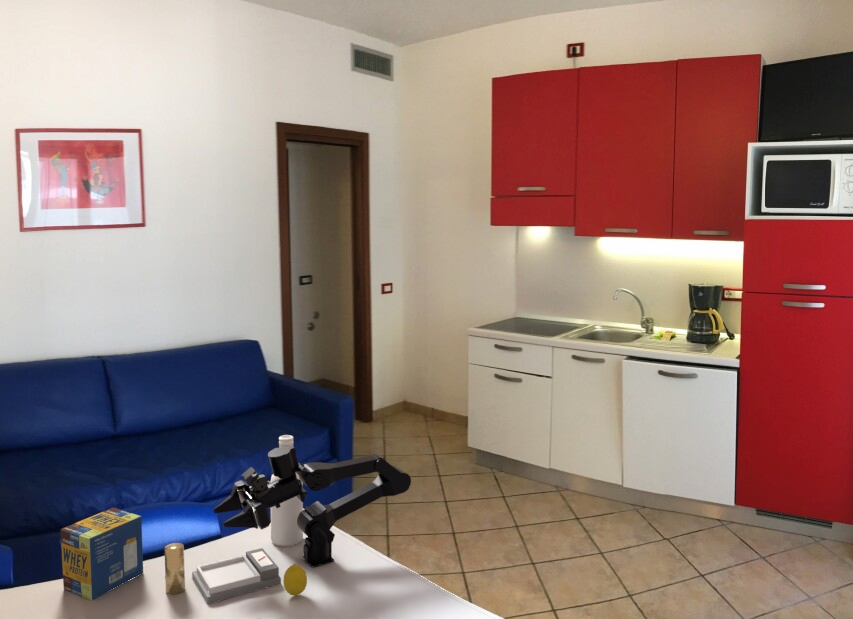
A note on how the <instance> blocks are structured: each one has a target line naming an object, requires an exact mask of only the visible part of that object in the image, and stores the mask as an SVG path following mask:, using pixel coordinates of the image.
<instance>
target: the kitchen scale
mask: <svg viewBox="0 0 853 619" xmlns="http://www.w3.org/2000/svg"><path fill="white" fill-rule="evenodd" d="M279 570H280V569H279V566H278V564H277V563H275V561H274V559H272V558H271V556H270V555H269V554H268V553H267V552H266V550H265V549H264V548H263V547H261V548H257V549H252V550H249V551H246V552H245V554H243V555H240V556H239V555H238V556H234V557H230V558H227V559H221V560H218V561H213V562H210V563H205V564H201V565H196V570H193V571H191V572H192V573H191V576H192V580H193V582H194V581H195V582H194V583H195V584H196V586H198V587H197V589H198V590H199V592H200V593H201V595H202V597H203V599H204V598H205V599H204V601H205V602H206V604H212V603H216V602H219V601H222V600H227V599H230V598H234V597H238V596H242V595H245V594H248V593H253V592H257V591H260V590H264V589H268V588H273V587H276V586H279V585H282V577H281V576H280V573H279V572H280V571H279Z"/></svg>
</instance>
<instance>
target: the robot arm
mask: <svg viewBox="0 0 853 619" xmlns="http://www.w3.org/2000/svg"><path fill="white" fill-rule="evenodd" d="M267 456H268V460H269V463H270V467H271V472H272V475H274V476H276V477H279V478H280V479H279V480H276V481H274V482H272V483H271V482H270V481H271V480H269V479H268V478H267V476H266V475H264V474H258V472H257V471H256V470H255V469H254V468H253V467H252V466H251V467H249V468H248V469H247V470H245V472H243V473H242V474H241V475H240V476H241V477H242V479H244V480H245V481H244V480H242V479H241V480H238V481H236V482H234V483H233V484H234V485H233V486H232V490H231V493H230V495H228V497H226V498H225V499H223V501H221V502H220V503H219V504H218V505H216V506H215V507H214V508H213V509H212V510H213V514H220V513H221V514H222V513H228V512H235V511H241V512H239V513H238V514H235V515H234V516H232V517H230V518H229V519H227V520H225V521H223V523H222V525H223V527H224V528H246V529H247V528H248V529H249V528H250V529H251V528H252V529H257V530H258V529H260V530H265V529H267V528H268V527H269V526H271V515H270V513H269V509H271V507H274V506H275V507H276V508H279V507H280V503H283V502H285V501H287V500H289V499H291V498H294V497H296V496H297V498H298V499H299V500H300V501H301V502H303V503H304V502H305V500H306V497H307V495H308V491H306V489H304V487H302V483H301V481H302V482H303V485H305V486H306V487H307V488H308V489H309V490H311V491H312V492H318V491H321V490H323V489H326V488H329V487H330V486H332V485H333V484H334V483H335V482H338V481H342V480H346V479H349V478H355V477H360V476H362V475H363V476H365V475H369V474H372V473H377V474H378V475H377V477H376V478H375V479H374V480H373V481H372V482H370V483H368V484H366V485H364V486H362V487H360V488H358V489H356V490H354V491H352V492H350V493H348V494H346V495H344V496H343V497H341V498H338V499H337V500H334V501H333V502H331V503H329V504H322V503H321V502H320V501H319V500H318V501H315V502H313V503H312V504H310V505H308V506H303V511H301V512H300V513H299V516H298V518H297V525H298V527H299V528H300V529H301V530H302V531H303V534H304V535H305V536H307V537H304V538H305V539H304V540H305V541H304V544H303V548H302V549H303V556H302V559H303V560H305V562H306V563H307V564H308V565H309V566H310V567H311V568H315V567H319V566H323V565H326V564H330V563H333V562H335V559H334V557H333V556H332V554H333V553H332V552H333V551H332V548H333V546H332V543H333V542H334V539H335V533H334V532H333V531H332V530H331V529H332V527H333V526H334V525H335V523H336V522H337V521H339V520H340V519H343V518H345V517H347V516H349V515H350V514H353V513H354V512H356V511H358V510H360V509H362V508H364V507H366V506H368V505H370V504H372V503H373V502H375V501H377V500H379V499H381V498H383V497H395V496H398V495H402V494H404V493H406V492H407V491H408V490H410V487H411V485H412V484H411V483H412V478H411V476H410V474H409V473H407V472H406V471H405V470H403V469H401V468H399V467H398V466H395V465H391V464H390V463H389V462H388V461H386V459H385V458H384V457H382V456H381V455H379V454H377V453H372V454H369V455H367V456H362V457H357V458H353V459H347V460H343V461H337V462H334V463H333V462H331V463H329V462H321V461H319V462H318V461H317V462H307V463H300V462H299V461H298V457H297V451H296V448H295V447H294V445H293V446H290V447H280V448H279V447H275V448H273V449H272V450H270V451H269V452H268V453H267ZM295 472H296V473H297V474H298V475H299V477H300V480H299V479H297V477H296V473H295Z"/></svg>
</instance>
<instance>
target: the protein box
mask: <svg viewBox="0 0 853 619" xmlns="http://www.w3.org/2000/svg"><path fill="white" fill-rule="evenodd" d="M142 520H143V518H142V516H141V515H139V514H135V513H131V512H128V511H126V510H122V509H120V508H116V507H111V508H109V509H106V510H104V511H102V512H99V513H97V514H94V515H92V516H90V517H87V518H84V519H82V520H79V521H77V522H75V523H73V524H70V525H67V526H65V527H62V528H60V543H61V544H60V545H61V563H62V564H61V565H62V579H63V581H62V582H63V590H64V591H67V592H70V593H72V594H75V595H77V596H79V597H82V598H84V599H87V600H89V599H90V600H89V601H94V600H95V599H97V598H99V597H101V596H103V595H105V594H107V593H108V591H109V590H111V589H113V588H115V587H116V588H118V587H120V586H122V585H123V584H122V583H124V584H126V583H128V582H129V581H128V580H130V579H132V578H134V577H136V576H137V577H139V576H141V575H143V574H144V560H143V559H144V555H143V552H144V551H143V526H142ZM142 573H143V574H142ZM140 574H141V575H140ZM138 575H139V576H138ZM137 577H136V578H137ZM134 579H135V578H134ZM132 580H133V579H132ZM127 581H128V582H127ZM130 581H131V580H130ZM125 582H126V583H125ZM121 584H122V585H121ZM119 585H120V586H119ZM117 586H118V587H117ZM116 588H115V589H116ZM113 590H114V589H113ZM111 591H112V590H111ZM106 592H107V593H106ZM109 592H110V591H109ZM104 593H105V594H104ZM102 594H103V595H102ZM93 599H94V600H93Z"/></svg>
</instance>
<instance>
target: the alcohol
mask: <svg viewBox="0 0 853 619" xmlns="http://www.w3.org/2000/svg"><path fill="white" fill-rule="evenodd" d="M278 440H279V441H278V448H280V447H290V446H293V447H294V436H293V435H289V434H283V435H280V436H279V437H278ZM295 473H296V472H295ZM296 477H297V479H299V480H300V477H299V475H298V474H297V473H296ZM279 479H280V478H279V477H276V476H274V475H273V474H271V477H270V480H269V481H270V482H271V483H272V482H274V481H276V480H279ZM301 483H302V487H303V485H304V483H303V482H302V481H301ZM303 488H304V487H303ZM303 510H304V502H301V501H300V500H299V499H298V498H297V496H296V497H294V498H291V499H289V500H287V501H285V502H283V503H280V507H279V508H276V507H275V506H274V507H271V508H270V520H271V523H270V540H271V542H272V543H273V545H275V546H277V547H282V548H289V546H290V547H294V546H296V544H297V545H298V544H300V543H301V542H302V540H303V538H304V532H303V531H302V530H301V529H300V528H299V527H298V525H297V518H298V516H299V513H300V512H301V511H303ZM299 542H300V543H299ZM293 545H294V546H293Z"/></svg>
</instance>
